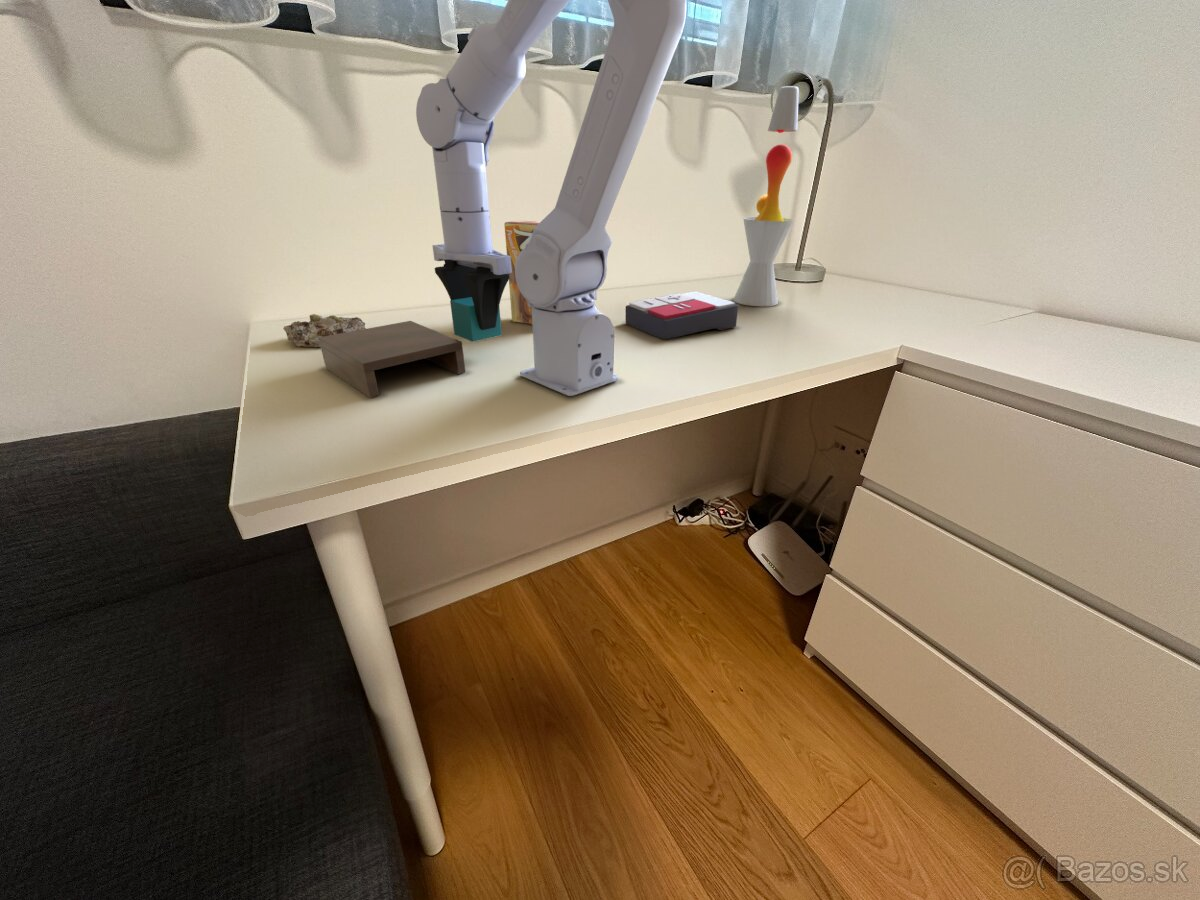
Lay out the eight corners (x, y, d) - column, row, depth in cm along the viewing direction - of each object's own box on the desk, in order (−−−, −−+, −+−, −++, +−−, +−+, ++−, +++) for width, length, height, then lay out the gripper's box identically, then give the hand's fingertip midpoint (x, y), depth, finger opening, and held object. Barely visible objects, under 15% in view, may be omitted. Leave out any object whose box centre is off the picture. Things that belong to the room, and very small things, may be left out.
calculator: (624, 300, 83) (695, 287, 90) (624, 326, 86) (694, 312, 92) (665, 315, 75) (740, 300, 82) (664, 344, 77) (737, 326, 84)
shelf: (465, 372, 63) (462, 341, 62) (370, 398, 56) (363, 363, 54) (415, 349, 71) (410, 320, 70) (325, 368, 64) (317, 337, 62)
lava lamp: (788, 305, 98) (830, 84, 82) (745, 307, 97) (779, 81, 80) (764, 295, 106) (798, 91, 89) (724, 297, 104) (751, 89, 87)
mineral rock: (286, 336, 68) (277, 307, 72) (293, 364, 71) (283, 335, 75) (372, 328, 73) (358, 302, 78) (375, 354, 76) (361, 327, 81)
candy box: (569, 322, 85) (567, 222, 78) (557, 328, 82) (554, 224, 74) (523, 316, 88) (517, 219, 81) (510, 322, 85) (503, 221, 77)
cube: (501, 335, 68) (499, 301, 66) (472, 342, 65) (468, 306, 63) (482, 328, 71) (479, 295, 69) (454, 334, 68) (449, 300, 66)
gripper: (404, 208, 63) (421, 319, 69) (469, 216, 54) (482, 342, 60) (455, 206, 67) (466, 310, 74) (522, 213, 58) (529, 331, 65)
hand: (476, 324), depth 67 cm, fingers closed on cube, 4 cm apart
